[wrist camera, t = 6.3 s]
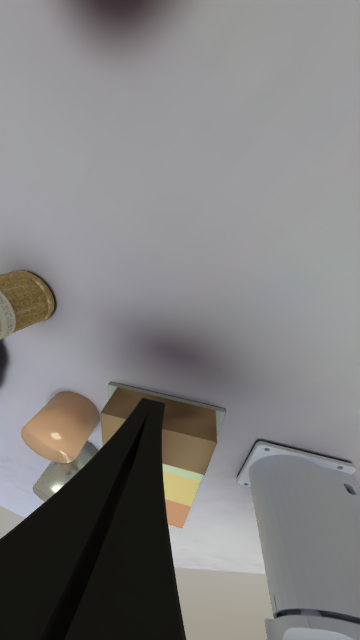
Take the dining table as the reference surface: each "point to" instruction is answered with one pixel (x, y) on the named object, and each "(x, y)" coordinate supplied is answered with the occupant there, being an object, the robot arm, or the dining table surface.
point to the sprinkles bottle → (23, 301)
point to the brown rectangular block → (169, 428)
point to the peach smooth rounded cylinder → (61, 427)
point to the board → (176, 480)
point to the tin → (62, 472)
